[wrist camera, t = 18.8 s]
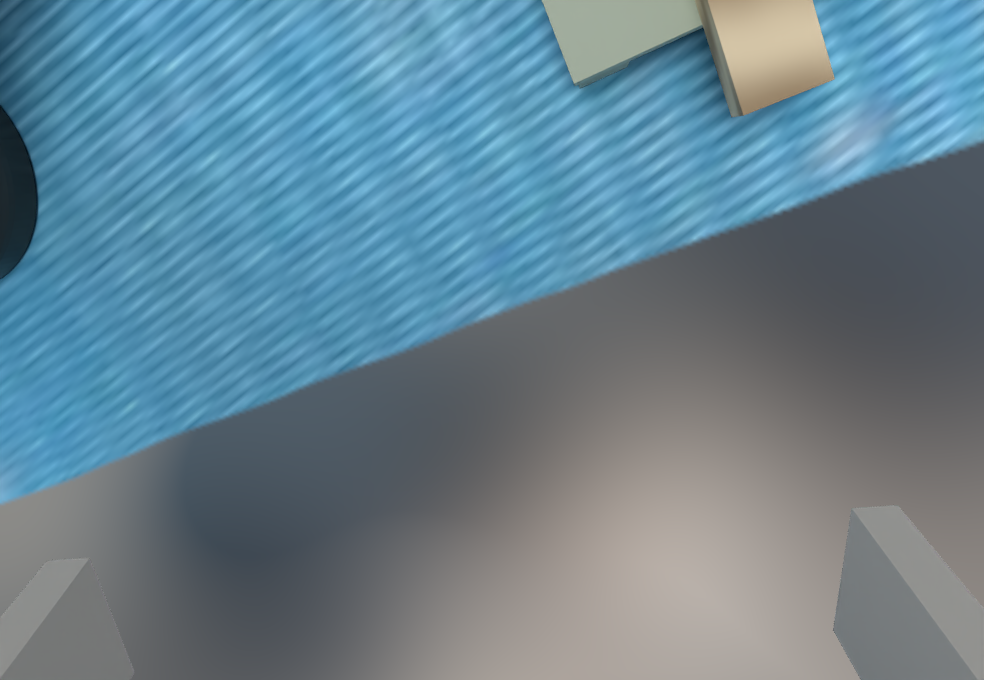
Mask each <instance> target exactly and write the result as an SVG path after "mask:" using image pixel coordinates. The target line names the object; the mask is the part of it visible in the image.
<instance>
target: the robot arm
mask: <svg viewBox="0 0 984 680" xmlns="http://www.w3.org/2000/svg"><path fill="white" fill-rule="evenodd" d="M35 215H36V190H35V182H34V176H33V172H32V168H31V164H30V161H29V158H28V155H27V152H26V149H25V147H24V145H23V143H22V140H21V138H20V136H19V134H18V132H17V131H16V129H15V127H14V126H13V124H12V122H11V121H10V119H9V118H8V116H7V115H6V114H5V112H4V111H3V110H2V108H1V107H0V279H1V278H2V277H4V276H5V275H6V274H7V273H8V272H10V270H11V269H12V268H13V267H14V266H15V265H16V264H17V263H18V261H19V260H20V258H21V257H22V255H23V254H24V252H25V250H26V248H27V246H28V243H29V241H30V238H31V235H32V231H33V227H34V222H35ZM833 631H834V633H835V634H836V636H837V638H838V640H839V642H840V643H841V645H842V647H843V649H844V650H845V652H846V654H847V656H848V658H849V659H850V661H851V663H852V665H853V667H854V668H855V670H856V672H857V673H858V676H859V677H860V679H861V680H984V608H983V607H982V606H981V605H980V603H979V602H978V601H977V600H976V599H975V597H974V596H973V595H972V594H971V593H970V591H969V590H968V589H967V588H966V587H965V586H964V584H963V583H962V582H961V581H960V579H959V578H958V577H957V576H956V575H955V573H954V572H953V571H952V570H951V569H950V567H948V565H947V564H946V563H945V561H944V560H943V559H942V558H941V557H940V555H939V554H938V553H937V552H936V551H935V549H934V548H933V547H932V546H931V545H930V543H929V542H928V541H927V540H926V539H925V537H924V536H923V535H922V534H921V533H920V531H919V530H918V529H917V528H916V527H915V525H914V524H913V523H912V522H911V521H910V520H909V518H908V517H907V516H906V515H905V513H904V512H903V511H902V510H901V509H900V507H899V506H897V505H894V506H879V507H864V508H852V509H851V516H850V522H849V529H848V536H847V542H846V549H845V556H844V562H843V568H842V575H841V582H840V588H839V595H838V601H837V608H836V615H835V621H834V628H833ZM133 674H134V670H133V667H132V664H131V662H130V659H129V657H128V654H127V651H126V649H125V646H124V644H123V641H122V639H121V636H120V633H119V631H118V628H117V626H116V623H115V621H114V618H113V616H112V613H111V610H110V608H109V605H108V603H107V600H106V598H105V595H104V593H103V590H102V587H101V585H100V582H99V580H98V577H97V575H96V572H95V570H94V567H93V565H92V562H91V559H90V558H79V559H63V560H48V561H46V563H45V564H44V565H43V566H42V567H41V569H40V570H39V571H38V572H37V573H36V575H35V576H34V577H33V578H32V580H31V581H30V582H29V583H28V584H27V586H26V587H25V588H24V589H23V591H22V592H21V593H20V594H19V595H18V597H17V598H16V599H15V600H14V602H13V603H12V604H11V605H10V606H9V608H8V609H7V610H6V611H5V613H4V614H3V615H2V616H1V617H0V680H130V679H131V677H132V675H133Z"/></svg>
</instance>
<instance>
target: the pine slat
mask: <svg viewBox="0 0 984 680" xmlns="http://www.w3.org/2000/svg"><path fill="white" fill-rule="evenodd" d="M695 3H696V6H697V9H698V12H699V15H700V19H701V22H702V25H703V28H704V31H705V34H706V38H707V41H708V44H709V47H710V50H711V53H712V57H713V60H714V63H715V66H716V69H717V72H718V76H719V79H720V82H721V85H722V88H723V92H724V95H725V98H726V101H727V104H728V107H729V111H730V114H731V117H737V116H744V115H746V114H749V113H751V112H754V111H756V110H759V109H761V108H764V107H766V106H769V105H771V104H774V103H776V102H779V101H781V100H784V99H786V98H789V97H791V96H794V95H796V94H799V93H801V92H804V91H806V90H809V89H811V88H814V87H816V86H819V85H821V84H824V83H826V82H829V81H831V80H834V79H835V78H834V75H833V71H832V68H831V64H830V61H829V57H828V54H827V50H826V46H825V43H824V39H823V36H822V32H821V29H820V25H819V22H818V18H817V15H816V11H815V8H814V4H813V0H695Z"/></svg>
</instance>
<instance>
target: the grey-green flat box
mask: <svg viewBox="0 0 984 680" xmlns="http://www.w3.org/2000/svg"><path fill="white" fill-rule="evenodd" d="M542 2H543V4H544V7H545V9H546V12H547V15H548V17H549V20H550V22H551V25H552V28H553V30H554V33H555V36H556V38H557V41H558V43H559V46H560V49H561V51H562V54H563V56H564V59H565V62H566V64H567V67H568V69H569V72H570V75H571V77H572V80H573V83H574V85H575V86H577V85H579V87H580V88H582V87H584V86H587V85H589V84H591V83H593V82H595V81H598V80H600V79H602V78H604V77H606V76H609V75H611V74H613V73H615V72H617V71H619V70H622V69H624V68H626V67H628V64H629V62H630V61H631V60H633V59H635V58H638V57H640V56H642V55H644V54H646V53H649V52H651V51H653V50H655V49H657V48H659V47H662V46H664V45H666V44H668V43H670V42H673V41H675V40H677V39H679V38H681V37H683V36H686V35H688V34H690V33H692V32H694V31H697V30H699V29H701V28H703V25H702V22H701V19H700V15H699V12H698V9H697V6H696V3H695V0H542Z"/></svg>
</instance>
